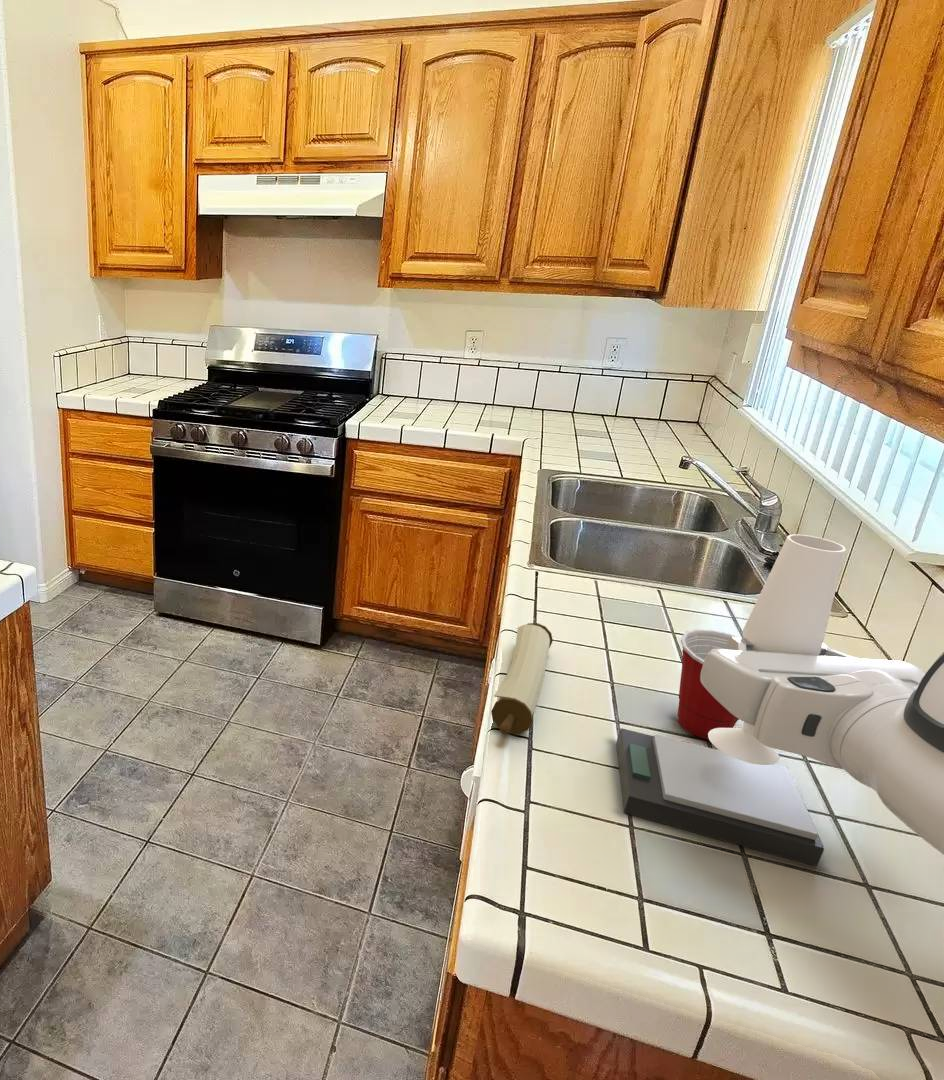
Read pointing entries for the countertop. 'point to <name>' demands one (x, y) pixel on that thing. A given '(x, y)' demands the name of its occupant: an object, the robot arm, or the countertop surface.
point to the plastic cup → (700, 685)
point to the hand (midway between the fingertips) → (771, 645)
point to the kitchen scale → (716, 795)
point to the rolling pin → (522, 680)
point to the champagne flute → (787, 622)
